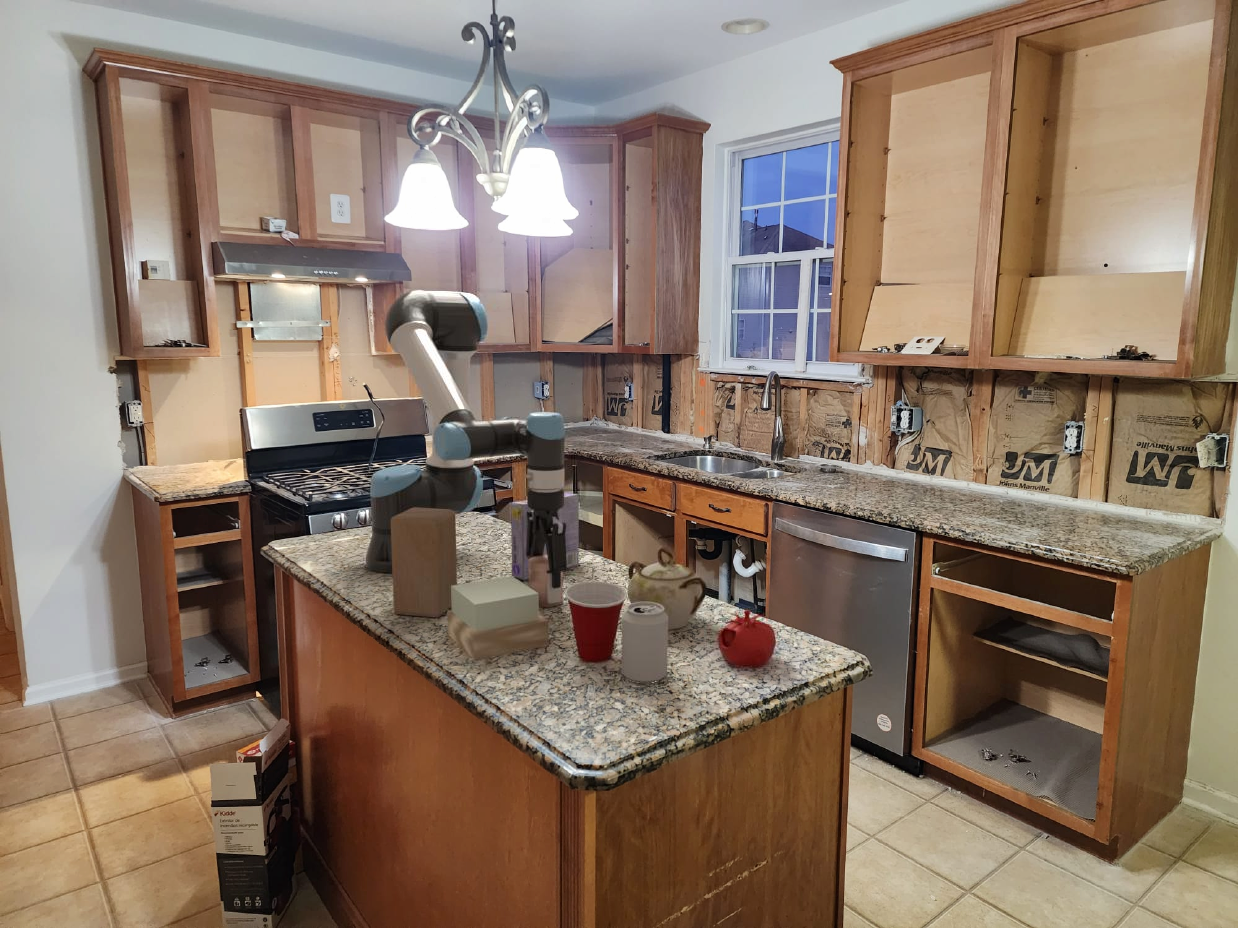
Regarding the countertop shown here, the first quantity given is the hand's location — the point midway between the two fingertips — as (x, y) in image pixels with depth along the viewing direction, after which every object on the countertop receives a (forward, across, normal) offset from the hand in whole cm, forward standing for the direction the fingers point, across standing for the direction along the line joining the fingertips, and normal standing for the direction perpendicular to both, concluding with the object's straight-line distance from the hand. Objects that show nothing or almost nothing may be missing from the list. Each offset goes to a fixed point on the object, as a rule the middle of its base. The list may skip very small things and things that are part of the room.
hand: (545, 596), depth 168 cm
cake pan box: (+2, -20, +10) cm, 22 cm away
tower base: (+2, +14, -17) cm, 22 cm away
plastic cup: (+1, +30, -5) cm, 31 cm away
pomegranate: (+1, +44, +17) cm, 47 cm away
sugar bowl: (+1, +22, +15) cm, 27 cm away
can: (+1, +41, -2) cm, 41 cm away
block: (+1, -8, -23) cm, 24 cm away
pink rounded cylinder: (+1, 0, 0) cm, 1 cm away
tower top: (-3, +14, -17) cm, 23 cm away
